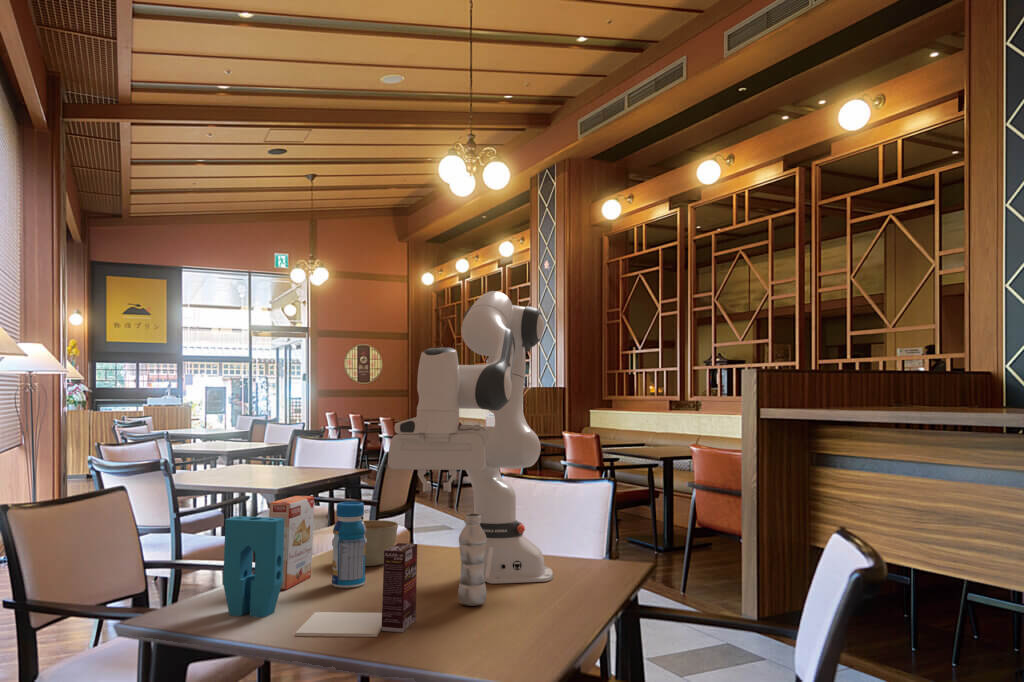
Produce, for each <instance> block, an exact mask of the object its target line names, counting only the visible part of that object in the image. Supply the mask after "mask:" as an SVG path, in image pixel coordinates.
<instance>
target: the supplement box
mask: <svg viewBox="0 0 1024 682" xmlns="http://www.w3.org/2000/svg"><path fill="white" fill-rule="evenodd" d="M417 568H418V543H406V542H404V543H403V542H398V543H396V544H394V546H393V547H391V548H389V549H387V550H384V564H383V573H382V574H383V577H382V579H383V580H382V604H381V607H382V608H381V609H382V610H381V613H382V627H381V631H382V632H386V633H387V632H388V633H401V634H402V633H404V632H405V630H407V628H408V627H410V626H411V625H412V624H413V623H414V622H416V617H417V616H416V615H417V613H416V612H417V579H418V578H417V577H418V575H417V571H418V569H417ZM381 631H380V632H381Z"/></svg>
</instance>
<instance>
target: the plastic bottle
mask: <svg viewBox="0 0 1024 682" xmlns="http://www.w3.org/2000/svg"><path fill="white" fill-rule="evenodd" d="M480 523H481V515H480V514H474V513H466V514H465V516H464V524H465V526H464V527H463V528H462V530H461V532H459V533H460V534H459V536H458V543H459V544H458V546H459V553H460V578H459V584H458V588H457V589H458V591H457V594H458V597H457V598H458V601H459V602H460V603H461V604H462V605H464V606H469V607H473V606H481V605H483V604H484V603H485V601H486V599H487V593H488V592H487V585H486V583H485V576H484V557H485V548H486V540H487V538H486V534H485V532H484V531H483V529H482V528H481V526H480Z"/></svg>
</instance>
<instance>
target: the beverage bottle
mask: <svg viewBox="0 0 1024 682" xmlns="http://www.w3.org/2000/svg"><path fill="white" fill-rule="evenodd" d="M364 504H365V503H364V502H361V501H343V502H338V503H337V504H336V510H335V511H336V512H335V513H336V518H338V519H337V521H336V523H335V525H334V526H333V529H332V533H333V538H332V541H331V542H332V543H331V545H332V575H331V577H332V578H331V585H332V586H333V587H335V588H340V589H353V588H358V587H362V586H363V585H364V584H365V583H366V566H365V553H366V544H367V539H366V537H365V533H366V526H365V524H364V522H363V521H364V520H363V519H362V518H363V517H364V515H365V514H364V513H365V505H364Z"/></svg>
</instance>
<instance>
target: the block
mask: <svg viewBox="0 0 1024 682" xmlns="http://www.w3.org/2000/svg"><path fill="white" fill-rule="evenodd" d="M284 520H285V518H272V517H269V516H268V517H267V516H246V515H244V516H243V515H242V516H241V515H240V516H239V515H237V516H231V517H227V518H225V521H224V523H225V525H224V549H223V571H222V572H223V574H222V575H223V577H222V580H223V581H222V584H223V585H222V586H223V590H224V593H225V594H224V595H225V600H226V605H227V609H228V614H229V616H234V617H235V616H236V617H242V616H243V615H245V614H247V613H249V617H250V618H266V617H268V616H270V615H271V614H274V613H275V610H276V607H277V603H278V601H279V600H278V599H279V595H280V592H281V585H282V582H283V552H284ZM253 553H254V554H255V555H254V554H253ZM253 555H254V574H253Z"/></svg>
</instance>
